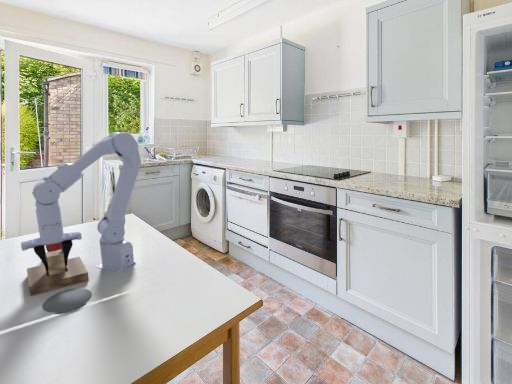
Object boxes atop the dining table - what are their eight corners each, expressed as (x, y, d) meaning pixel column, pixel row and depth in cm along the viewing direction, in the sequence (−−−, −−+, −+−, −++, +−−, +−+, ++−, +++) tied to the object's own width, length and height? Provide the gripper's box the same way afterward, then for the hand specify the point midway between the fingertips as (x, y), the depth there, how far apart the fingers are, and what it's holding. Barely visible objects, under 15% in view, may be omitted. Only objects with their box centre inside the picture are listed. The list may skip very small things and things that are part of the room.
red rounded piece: (44, 259, 103) (41, 237, 101) (50, 253, 108) (47, 232, 107) (63, 258, 104) (60, 236, 103) (68, 251, 110) (66, 231, 108)
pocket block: (80, 264, 99) (79, 256, 99) (89, 281, 89) (87, 272, 88) (28, 277, 91) (26, 268, 90) (30, 297, 80) (28, 287, 79)
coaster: (101, 294, 82) (101, 292, 82) (65, 317, 72) (65, 315, 72) (70, 287, 85) (70, 285, 85) (32, 309, 75) (31, 307, 75)
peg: (64, 273, 92) (61, 249, 91) (66, 278, 89) (63, 253, 88) (49, 277, 90) (45, 252, 88) (50, 282, 87) (46, 257, 85)
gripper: (76, 215, 93) (81, 255, 96) (18, 224, 84) (25, 268, 87) (80, 221, 88) (85, 263, 91) (18, 231, 79) (26, 277, 82)
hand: (56, 266), depth 89 cm, fingers closed on peg, 4 cm apart
